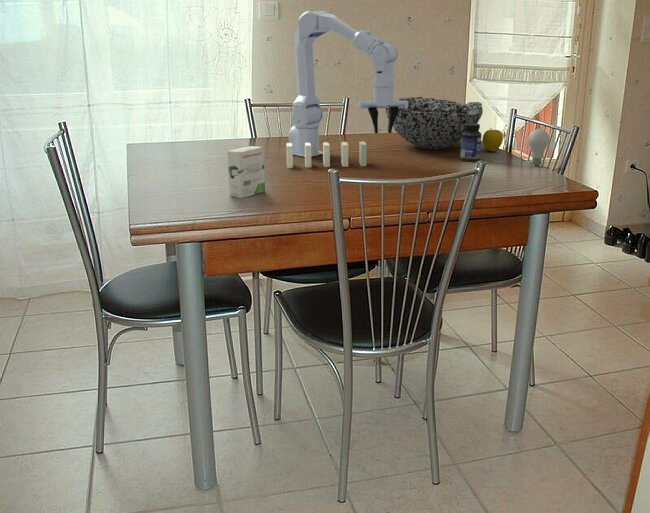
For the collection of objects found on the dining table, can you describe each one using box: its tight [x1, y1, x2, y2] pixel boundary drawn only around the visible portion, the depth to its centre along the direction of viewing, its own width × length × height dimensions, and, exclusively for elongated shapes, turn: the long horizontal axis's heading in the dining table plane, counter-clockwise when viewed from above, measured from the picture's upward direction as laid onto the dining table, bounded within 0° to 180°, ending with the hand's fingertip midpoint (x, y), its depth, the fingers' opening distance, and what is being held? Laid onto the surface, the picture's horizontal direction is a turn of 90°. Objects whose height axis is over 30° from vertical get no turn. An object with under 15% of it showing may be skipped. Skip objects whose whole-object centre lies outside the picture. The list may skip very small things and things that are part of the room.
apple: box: [481, 127, 504, 152], centre depth 235 cm, size 6×6×8 cm
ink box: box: [227, 145, 266, 199], centre depth 184 cm, size 9×5×12 cm, turn 140°
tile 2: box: [304, 143, 312, 169], centre depth 217 cm, size 2×5×6 cm, turn 5°
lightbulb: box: [527, 128, 551, 167], centre depth 213 cm, size 6×6×11 cm
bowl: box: [385, 96, 484, 150], centre depth 241 cm, size 31×31×15 cm
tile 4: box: [340, 141, 349, 168], centre depth 218 cm, size 2×5×6 cm, turn 5°
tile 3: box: [322, 141, 331, 168], centre depth 217 cm, size 2×5×6 cm, turn 5°
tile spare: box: [358, 141, 368, 167], centre depth 218 cm, size 2×5×6 cm, turn 5°
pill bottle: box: [459, 123, 483, 163], centre depth 223 cm, size 6×6×11 cm
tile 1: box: [285, 142, 294, 169], centre depth 216 cm, size 2×5×6 cm, turn 5°
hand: (382, 132), depth 217 cm, fingers open, 3 cm apart
